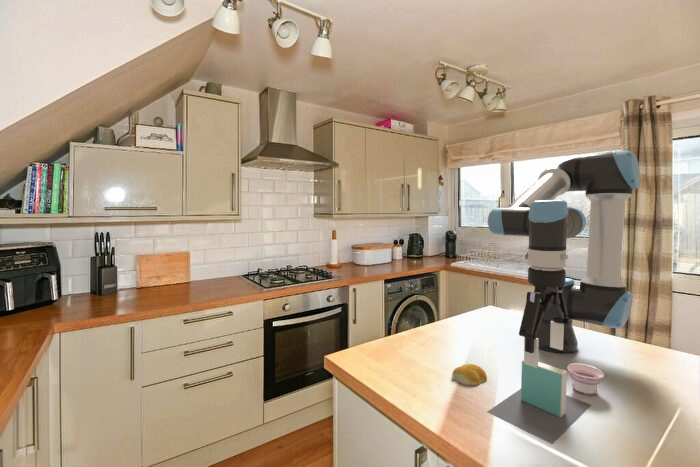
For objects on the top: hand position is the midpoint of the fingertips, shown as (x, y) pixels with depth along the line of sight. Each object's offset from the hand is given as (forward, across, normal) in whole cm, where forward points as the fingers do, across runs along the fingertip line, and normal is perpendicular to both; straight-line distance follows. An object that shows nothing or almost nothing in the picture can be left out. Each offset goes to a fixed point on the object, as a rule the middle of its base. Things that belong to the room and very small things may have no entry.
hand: (544, 356), depth 80 cm
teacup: (+14, +15, -3) cm, 21 cm away
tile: (+12, 0, 0) cm, 12 cm away
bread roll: (+13, -2, +19) cm, 23 cm away
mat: (+13, -2, 0) cm, 13 cm away
